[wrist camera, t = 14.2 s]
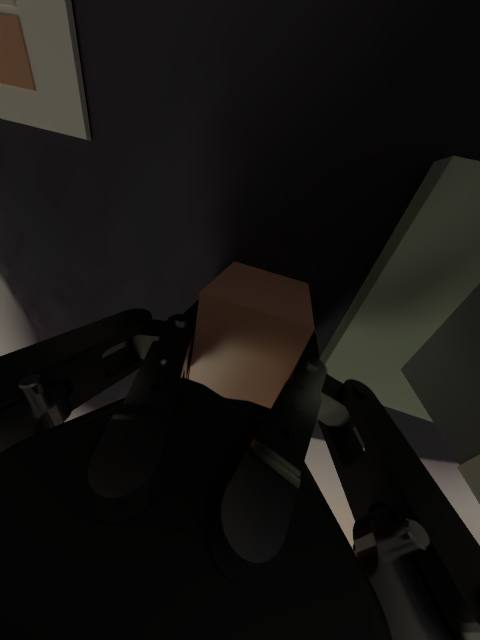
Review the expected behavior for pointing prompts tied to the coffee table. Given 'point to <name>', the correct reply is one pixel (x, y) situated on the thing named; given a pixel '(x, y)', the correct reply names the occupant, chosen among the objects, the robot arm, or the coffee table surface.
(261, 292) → the brick terracotta
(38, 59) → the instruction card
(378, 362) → the baseplate
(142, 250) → the coffee table surface
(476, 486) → the brick cream
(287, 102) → the coffee table surface
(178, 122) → the coffee table surface
